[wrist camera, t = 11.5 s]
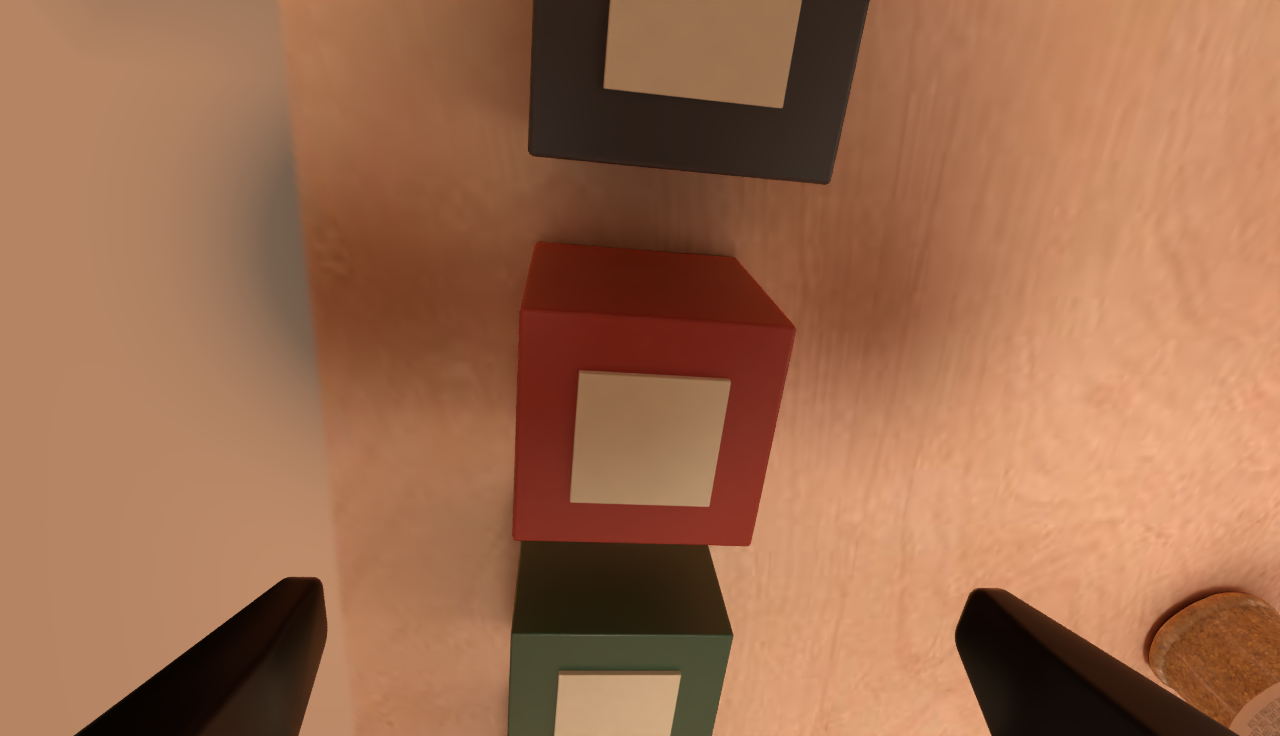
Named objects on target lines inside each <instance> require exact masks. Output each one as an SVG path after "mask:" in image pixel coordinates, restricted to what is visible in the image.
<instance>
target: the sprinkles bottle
mask: <svg viewBox="0 0 1280 736" xmlns="http://www.w3.org/2000/svg"><path fill="white" fill-rule="evenodd" d="M1149 662H1150V667H1151V669H1152V671H1153V672H1154V673H1155V675H1156V676H1157V677H1158V678H1159V679H1160V680H1161V681H1162V682H1163V683H1164V684H1165V685H1167V686H1168V687H1170V688H1172V689H1174V690H1175V691H1176V692H1177V693H1178V694H1179V695H1181V696H1182V698H1183V699H1184V700H1185V701H1186V702H1187V703H1188V704H1190V705H1191V706H1193V707H1195V708H1196V709H1198V710H1199V711H1201V712H1203V713H1204V714H1206V715H1208V716H1209V717H1211V718H1212V719H1214V720H1216V721H1217V722H1219V723H1220V724H1222V725H1224V726H1225V727H1227V728H1229V729H1230V730H1232V731H1233V732H1235V733H1237V734H1238V735H1240V736H1280V616H1279V614H1278V613H1277V612H1276V610H1275V609H1273V608H1272V607H1271V606H1270V605H1269V604H1268V603H1266V602H1265V601H1263V600H1262V599H1260V598H1258V597H1255V596H1253V595H1251V594H1247V593H1232V592H1226V593H1220V594H1215V595H1212V596H1209V597H1207V598H1205V599H1202V600H1200V601H1198V602H1196V603H1193V604H1191V605H1189V606H1188V607H1186V608H1185V609H1183V610H1181V611H1180V612H1178V613H1177V614H1175V615H1174V616H1173V617H1171V618H1170V619H1169V620H1168V621H1167V622H1166V623H1165V624H1164V625H1163V626H1162V627H1161V628H1160V629H1159V631H1158V632H1157V634H1156V635H1155V637H1154V640H1153V642H1152V645H1151V647H1150V650H1149Z"/></svg>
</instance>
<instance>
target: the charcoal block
mask: <svg viewBox="0 0 1280 736" xmlns="http://www.w3.org/2000/svg"><path fill="white" fill-rule="evenodd" d="M869 1H870V0H533V18H532V46H531V75H530V104H529V133H528V152H529V154H530V155H532V156H536V157H546V158H556V159H566V160H577V161H587V162H597V163H607V164H618V165H628V166H638V167H648V168H658V169H669V170H679V171H689V172H699V173H710V174H720V175H730V176H740V177H750V178H761V179H771V180H781V181H791V182H802V183H812V184H822V185H826V184H829V183H830V181H831V177H832V173H833V168H834V163H835V159H836V154H837V150H838V145H839V140H840V136H841V131H842V126H843V122H844V117H845V112H846V108H847V103H848V98H849V94H850V89H851V85H852V80H853V75H854V71H855V66H856V61H857V57H858V52H859V47H860V43H861V38H862V34H863V29H864V24H865V20H866V15H867V10H868V6H869Z"/></svg>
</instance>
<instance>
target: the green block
mask: <svg viewBox="0 0 1280 736" xmlns="http://www.w3.org/2000/svg"><path fill="white" fill-rule="evenodd" d="M732 640H733V632H732V629H731V625H730V622H729V618H728V615H727V611H726V607H725V604H724V600H723V597H722V593H721V590H720V586H719V583H718V579H717V576H716V572H715V569H714V565H713V561H712V558H711V554H710V551H709V547H708V545H679V544H638V543H597V542H556V541H521V548H520V557H519V566H518V575H517V584H516V593H515V602H514V611H513V620H512V629H511V647H510V676H509V705H508V734H507V736H712V732H713V728H714V723H715V718H716V714H717V709H718V704H719V700H720V695H721V691H722V686H723V681H724V677H725V672H726V667H727V663H728V658H729V654H730V649H731V644H732Z"/></svg>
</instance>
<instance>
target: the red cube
mask: <svg viewBox="0 0 1280 736" xmlns="http://www.w3.org/2000/svg"><path fill="white" fill-rule="evenodd" d="M795 332H796V328H795V326H794V325H793V324H792V322H791V321H790V320H789V319H788V318H787V317H786V315H785V314H784V313H783V312H782V311H781V310H780V309H779V307H778V306H777V305H776V304H775V303H774V302H773V300H772V299H771V298H770V297H769V296H768V295H767V294H766V292H765V291H764V290H763V289H762V288H761V287H760V285H759V284H758V283H757V282H756V281H755V280H754V279H753V277H752V276H751V275H750V274H749V273H748V272H747V270H746V269H745V268H744V267H743V266H742V265H741V264H740V262H739V261H738V260H737V259H736V258H734V257H722V256H709V255H697V254H684V253H672V252H659V251H647V250H635V249H622V248H610V247H597V246H585V245H573V244H560V243H548V242H536V243H535V246H534V250H533V255H532V259H531V263H530V268H529V272H528V276H527V281H526V285H525V290H524V294H523V298H522V303H521V307H520V311H519V341H518V373H517V405H516V436H515V468H514V500H513V532H512V536H513V538H514V540H517V541H556V542H597V543H638V544H679V545H720V546H749V545H750V544H751V540H752V535H753V531H754V526H755V521H756V516H757V512H758V507H759V502H760V498H761V493H762V488H763V483H764V479H765V474H766V469H767V465H768V460H769V455H770V450H771V446H772V441H773V436H774V432H775V427H776V422H777V417H778V413H779V408H780V403H781V399H782V394H783V389H784V384H785V380H786V375H787V370H788V365H789V361H790V356H791V351H792V347H793V342H794V337H795Z"/></svg>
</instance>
